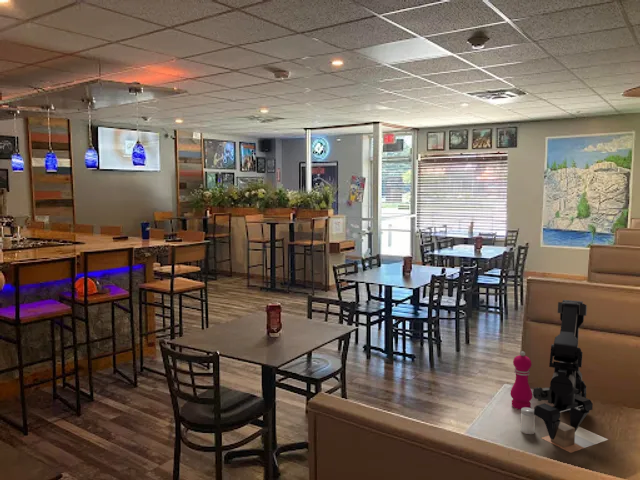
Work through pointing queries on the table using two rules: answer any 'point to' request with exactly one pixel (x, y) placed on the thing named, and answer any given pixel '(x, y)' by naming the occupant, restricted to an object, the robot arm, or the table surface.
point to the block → (564, 435)
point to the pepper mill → (521, 382)
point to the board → (580, 440)
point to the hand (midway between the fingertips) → (562, 435)
